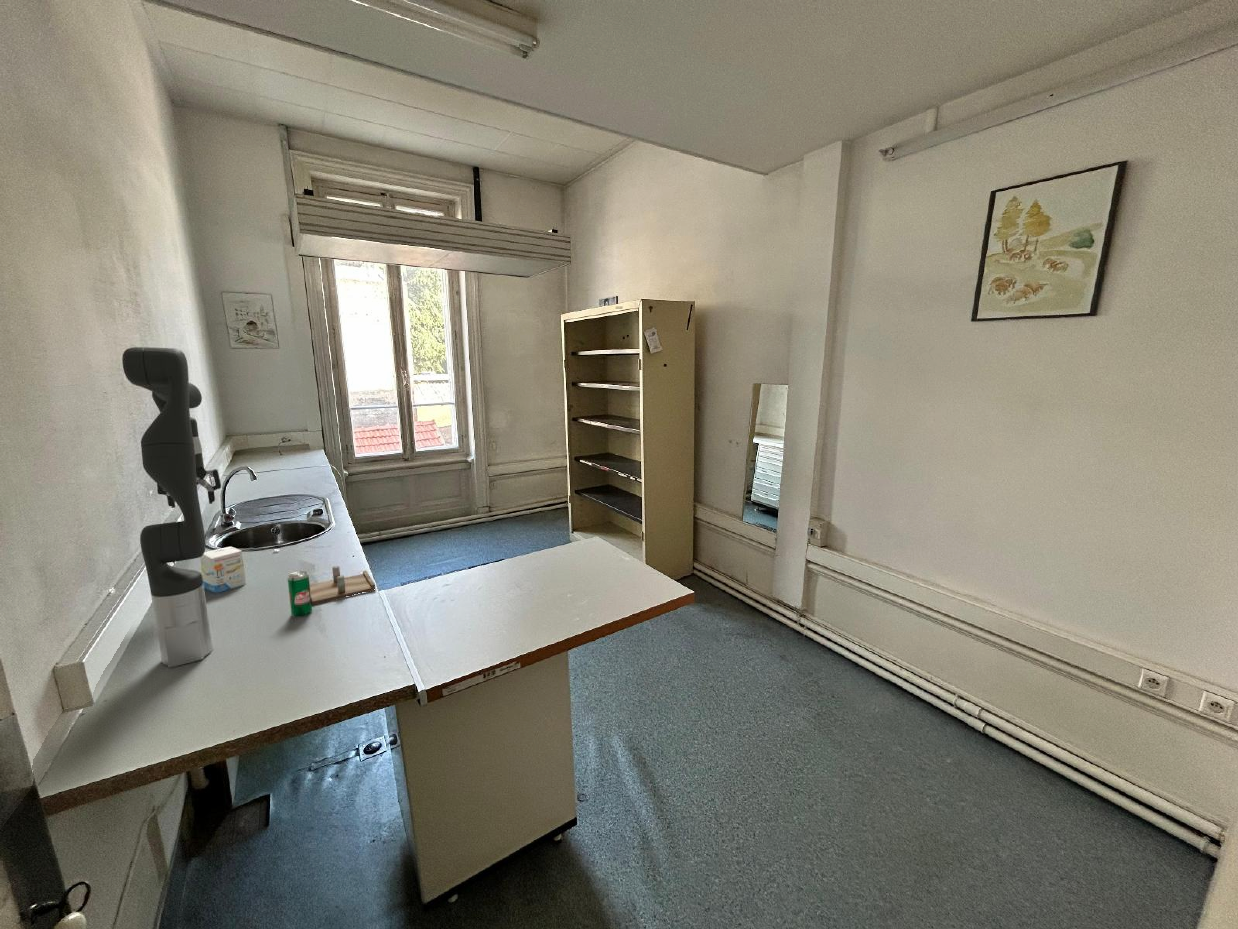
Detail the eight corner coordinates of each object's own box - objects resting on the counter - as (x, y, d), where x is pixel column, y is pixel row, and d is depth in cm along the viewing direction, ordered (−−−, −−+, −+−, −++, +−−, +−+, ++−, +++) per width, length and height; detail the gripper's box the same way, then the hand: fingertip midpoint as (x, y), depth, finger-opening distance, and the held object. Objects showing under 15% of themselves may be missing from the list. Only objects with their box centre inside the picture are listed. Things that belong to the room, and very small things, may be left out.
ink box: (215, 594, 150) (210, 558, 148) (203, 588, 154) (198, 553, 152) (247, 584, 157) (242, 550, 155) (234, 578, 162) (230, 545, 160)
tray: (375, 590, 154) (374, 572, 153) (308, 606, 143) (306, 586, 142) (366, 576, 165) (365, 559, 164) (304, 589, 154) (302, 571, 153)
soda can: (296, 619, 135) (292, 578, 133) (288, 614, 138) (283, 574, 136) (315, 612, 139) (311, 572, 137) (307, 607, 142) (302, 569, 140)
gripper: (150, 455, 136) (159, 511, 139) (215, 451, 145) (222, 504, 148) (154, 452, 142) (162, 506, 145) (216, 449, 151) (223, 499, 153)
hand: (192, 505), depth 146 cm, fingers open, 8 cm apart
